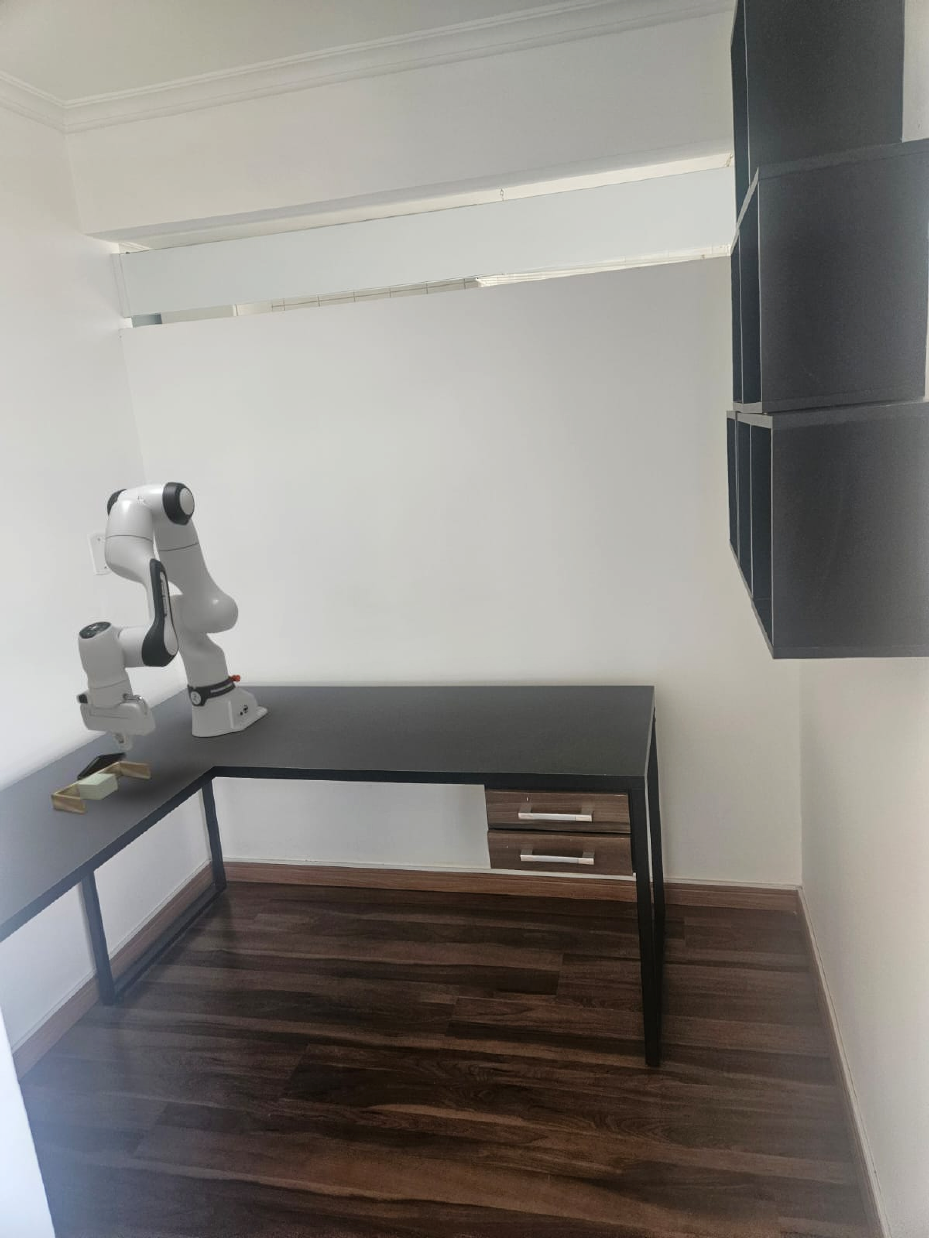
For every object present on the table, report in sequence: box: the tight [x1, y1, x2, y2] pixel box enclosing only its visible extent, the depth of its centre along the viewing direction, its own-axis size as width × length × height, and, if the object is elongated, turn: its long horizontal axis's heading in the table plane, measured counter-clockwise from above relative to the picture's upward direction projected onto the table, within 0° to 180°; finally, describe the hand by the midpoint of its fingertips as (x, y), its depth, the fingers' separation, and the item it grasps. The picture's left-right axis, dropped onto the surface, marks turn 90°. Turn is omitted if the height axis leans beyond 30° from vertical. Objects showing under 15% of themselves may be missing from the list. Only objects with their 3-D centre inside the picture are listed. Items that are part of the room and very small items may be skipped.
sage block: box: [77, 774, 119, 801], centre depth 207 cm, size 6×6×4 cm
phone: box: [76, 751, 127, 781], centre depth 226 cm, size 8×1×15 cm
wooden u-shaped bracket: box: [50, 760, 152, 814], centre depth 208 cm, size 20×10×4 cm, turn 152°
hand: (126, 748), depth 201 cm, fingers closed
